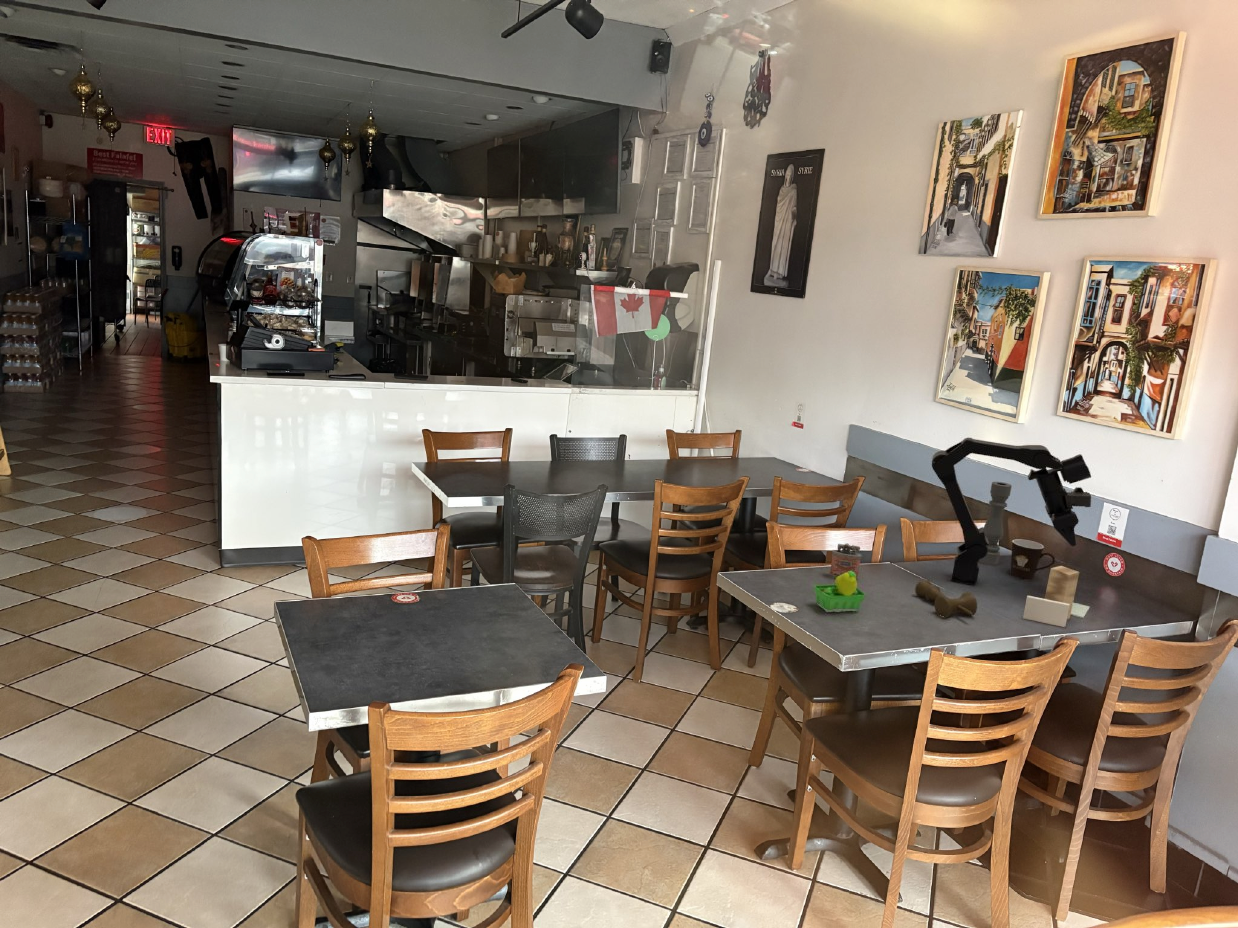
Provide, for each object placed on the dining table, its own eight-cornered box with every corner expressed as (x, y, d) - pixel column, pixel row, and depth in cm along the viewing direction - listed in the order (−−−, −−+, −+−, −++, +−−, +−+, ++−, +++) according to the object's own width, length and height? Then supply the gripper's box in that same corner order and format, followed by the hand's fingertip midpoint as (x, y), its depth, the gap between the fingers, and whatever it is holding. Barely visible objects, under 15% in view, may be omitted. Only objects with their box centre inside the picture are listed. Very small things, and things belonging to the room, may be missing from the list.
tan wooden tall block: (1041, 614, 238) (1050, 568, 235) (1051, 611, 241) (1061, 565, 238) (1059, 621, 234) (1068, 574, 231) (1069, 618, 237) (1079, 572, 234)
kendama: (934, 596, 247) (986, 623, 228) (905, 599, 244) (955, 627, 225) (937, 575, 245) (989, 601, 227) (908, 578, 242) (958, 604, 224)
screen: (1023, 618, 234) (1027, 596, 233) (1023, 616, 235) (1027, 595, 234) (1065, 627, 230) (1069, 605, 229) (1064, 625, 231) (1069, 603, 230)
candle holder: (999, 565, 276) (1014, 487, 270) (978, 563, 277) (993, 485, 271) (995, 559, 282) (1010, 483, 276) (975, 556, 283) (989, 480, 277)
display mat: (1042, 607, 243) (1043, 605, 243) (1050, 597, 251) (1050, 596, 251) (1083, 618, 238) (1083, 616, 237) (1089, 608, 246) (1089, 606, 245)
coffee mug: (999, 571, 270) (1005, 540, 268) (1020, 569, 274) (1026, 538, 272) (1031, 585, 260) (1038, 553, 258) (1052, 583, 264) (1058, 551, 261)
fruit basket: (848, 601, 236) (854, 561, 233) (867, 615, 227) (873, 573, 225) (810, 603, 232) (815, 562, 229) (827, 617, 224) (833, 574, 221)
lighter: (828, 577, 253) (833, 543, 251) (829, 573, 256) (834, 540, 254) (857, 582, 251) (862, 548, 248) (858, 578, 254) (863, 545, 252)
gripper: (1088, 487, 236) (1108, 541, 236) (1077, 472, 253) (1097, 523, 254) (1044, 500, 240) (1064, 554, 241) (1036, 485, 257) (1055, 535, 258)
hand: (1071, 541), depth 248 cm, fingers open, 9 cm apart
